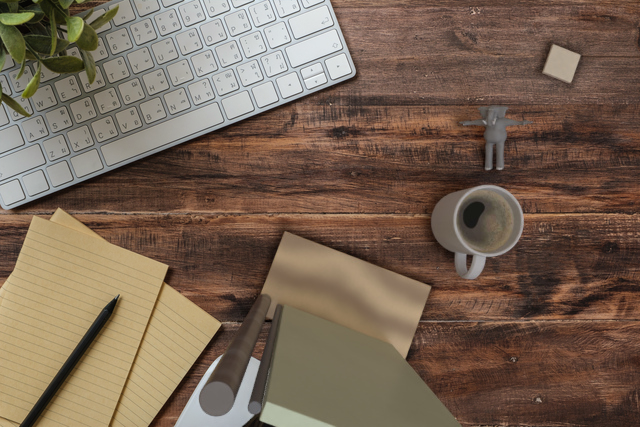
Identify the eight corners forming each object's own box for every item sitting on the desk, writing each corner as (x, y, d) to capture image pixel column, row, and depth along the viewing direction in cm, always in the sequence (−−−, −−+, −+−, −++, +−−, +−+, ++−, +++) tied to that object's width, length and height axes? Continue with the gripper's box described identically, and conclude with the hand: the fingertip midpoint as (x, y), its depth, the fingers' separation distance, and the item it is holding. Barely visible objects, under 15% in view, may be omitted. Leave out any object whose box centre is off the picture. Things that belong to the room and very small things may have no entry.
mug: (461, 178, 69) (488, 169, 59) (507, 226, 69) (542, 225, 59) (408, 231, 68) (427, 231, 58) (454, 279, 68) (481, 287, 58)
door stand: (400, 365, 67) (552, 559, 27) (252, 310, 67) (186, 427, 27) (429, 285, 68) (618, 360, 28) (283, 230, 67) (263, 226, 27)
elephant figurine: (452, 172, 69) (451, 108, 66) (467, 162, 73) (467, 102, 70) (525, 176, 63) (527, 107, 60) (537, 165, 67) (539, 100, 65)
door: (386, 360, 66) (507, 533, 28) (271, 318, 65) (236, 435, 28) (392, 344, 66) (521, 494, 28) (277, 301, 66) (251, 395, 28)
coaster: (569, 83, 70) (571, 82, 70) (541, 73, 70) (543, 71, 69) (578, 56, 70) (581, 54, 70) (551, 45, 70) (553, 43, 70)
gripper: (389, 639, 41) (432, 449, 48) (204, 587, 34) (288, 373, 41) (317, 586, 50) (362, 432, 57) (159, 536, 43) (234, 367, 50)
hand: (318, 405), depth 51 cm, fingers open, 9 cm apart
